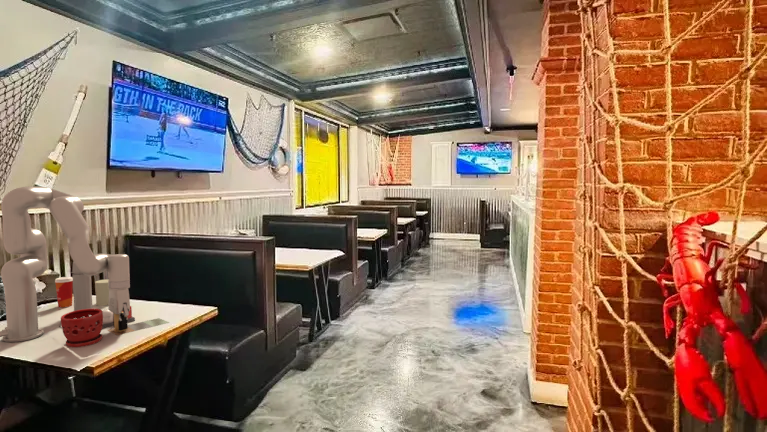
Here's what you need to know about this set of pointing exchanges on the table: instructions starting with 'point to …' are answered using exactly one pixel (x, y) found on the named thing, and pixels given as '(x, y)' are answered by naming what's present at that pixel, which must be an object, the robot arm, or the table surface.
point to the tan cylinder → (116, 319)
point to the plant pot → (82, 327)
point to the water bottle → (81, 289)
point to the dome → (107, 316)
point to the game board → (140, 326)
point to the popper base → (127, 319)
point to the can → (102, 292)
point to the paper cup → (64, 291)
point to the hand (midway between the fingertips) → (120, 327)
